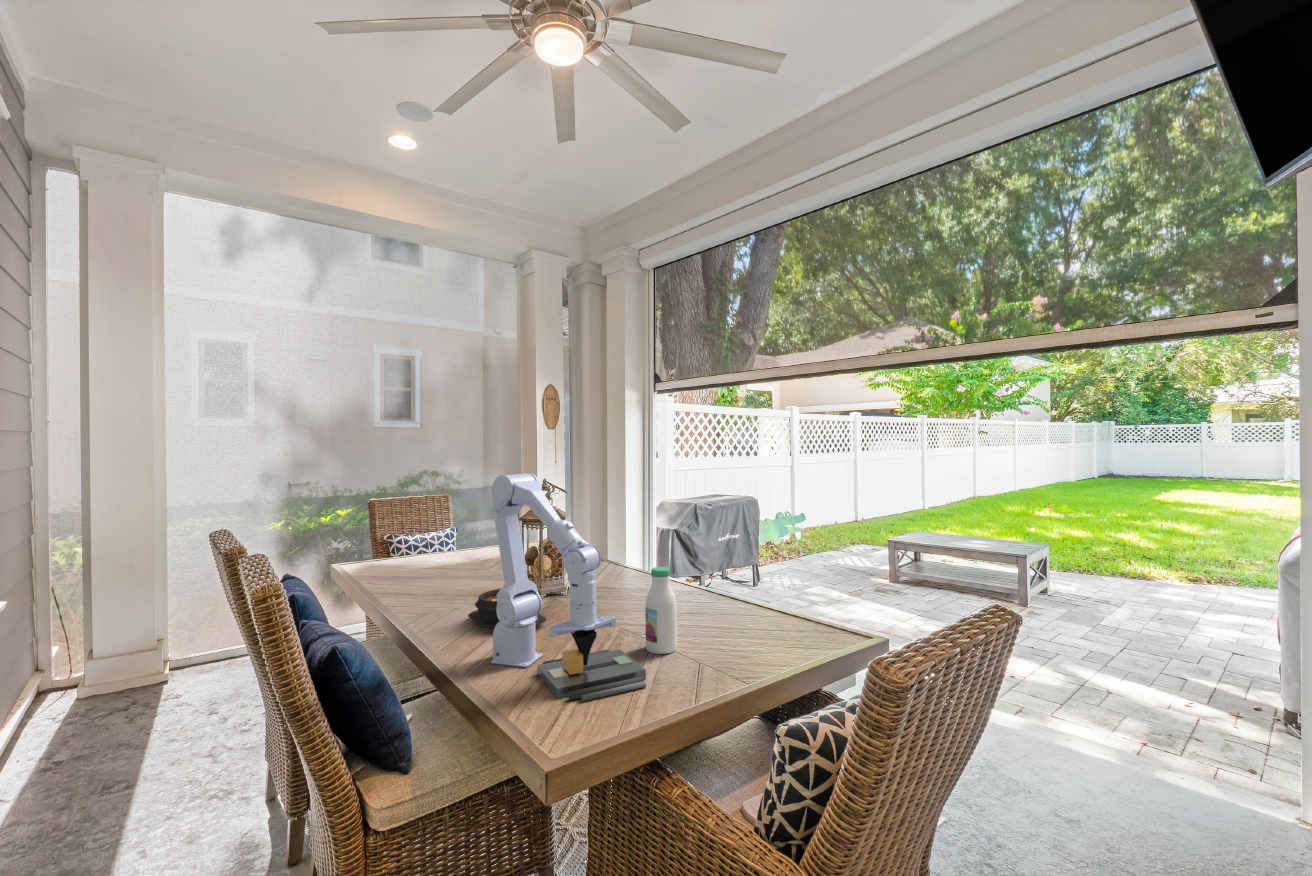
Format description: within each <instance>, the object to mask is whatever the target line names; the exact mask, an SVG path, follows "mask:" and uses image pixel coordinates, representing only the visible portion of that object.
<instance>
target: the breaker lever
mask: <svg viewBox="0 0 1312 876" xmlns="http://www.w3.org/2000/svg"><path fill="white" fill-rule="evenodd" d="M561 654H562V655H561V658H562V666H563V668H564V669H565V670H566V671H567V672H568V673H569V674H570V675H571V674H576V673H581V672H583V655H582V654H581V653H580V652H579V650H578V648H576V647H572V648H567V649H562V650H561Z"/></svg>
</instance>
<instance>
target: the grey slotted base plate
mask: <svg viewBox="0 0 1312 876" xmlns="http://www.w3.org/2000/svg"><path fill="white" fill-rule="evenodd" d="M608 651H610V649H605V650H600V651H599V650H598V651H594V652H590V653H589V655H592V654H598V653H603V652H608ZM561 660H562V657H561V658H557V659H552V660H547V661H543V662H542V664H546V663H551V662H556V661H561ZM646 687H647V683H646V681H645V680H644V679H643V678H642V677H636V678H632V679H627V680H622V681H618V682H613V683H609V684H604V685H600V686H595V687H591V688H586V689H581V690H577V691H572V692H569V693H568V696H567V697H568V700H569V701H570V702H571V701H576V700H579V699H580V701H581V702H582V703H583V702H587V701H591V700H595V699H601V698H604V697H608V696H613V695H618V694H621V693H626V692H630V691H634V690H639V689H644V688H646Z"/></svg>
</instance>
